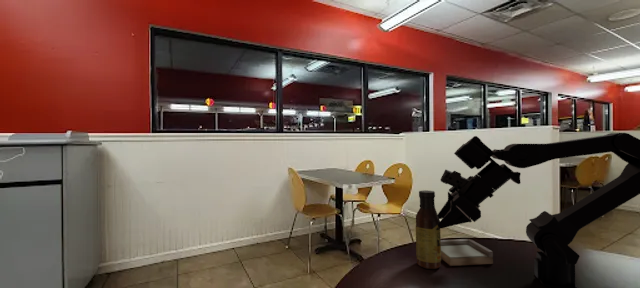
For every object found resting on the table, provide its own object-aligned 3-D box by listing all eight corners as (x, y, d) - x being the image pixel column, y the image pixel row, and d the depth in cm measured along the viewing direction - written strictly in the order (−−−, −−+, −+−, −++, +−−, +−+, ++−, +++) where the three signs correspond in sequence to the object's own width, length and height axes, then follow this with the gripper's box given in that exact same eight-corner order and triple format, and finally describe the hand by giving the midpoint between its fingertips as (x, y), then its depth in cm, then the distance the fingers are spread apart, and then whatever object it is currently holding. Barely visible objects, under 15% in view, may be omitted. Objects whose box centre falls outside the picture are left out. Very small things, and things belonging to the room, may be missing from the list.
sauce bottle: (443, 271, 71) (442, 193, 71) (418, 269, 73) (416, 193, 73) (438, 260, 78) (437, 189, 78) (414, 259, 79) (413, 189, 79)
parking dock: (470, 249, 85) (470, 238, 85) (492, 263, 75) (492, 251, 75) (432, 251, 84) (432, 240, 84) (450, 265, 74) (450, 253, 74)
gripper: (457, 157, 81) (417, 193, 85) (464, 161, 63) (413, 206, 68) (488, 186, 78) (445, 221, 82) (505, 198, 61) (449, 243, 65)
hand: (438, 222), depth 74 cm, fingers open, 9 cm apart
